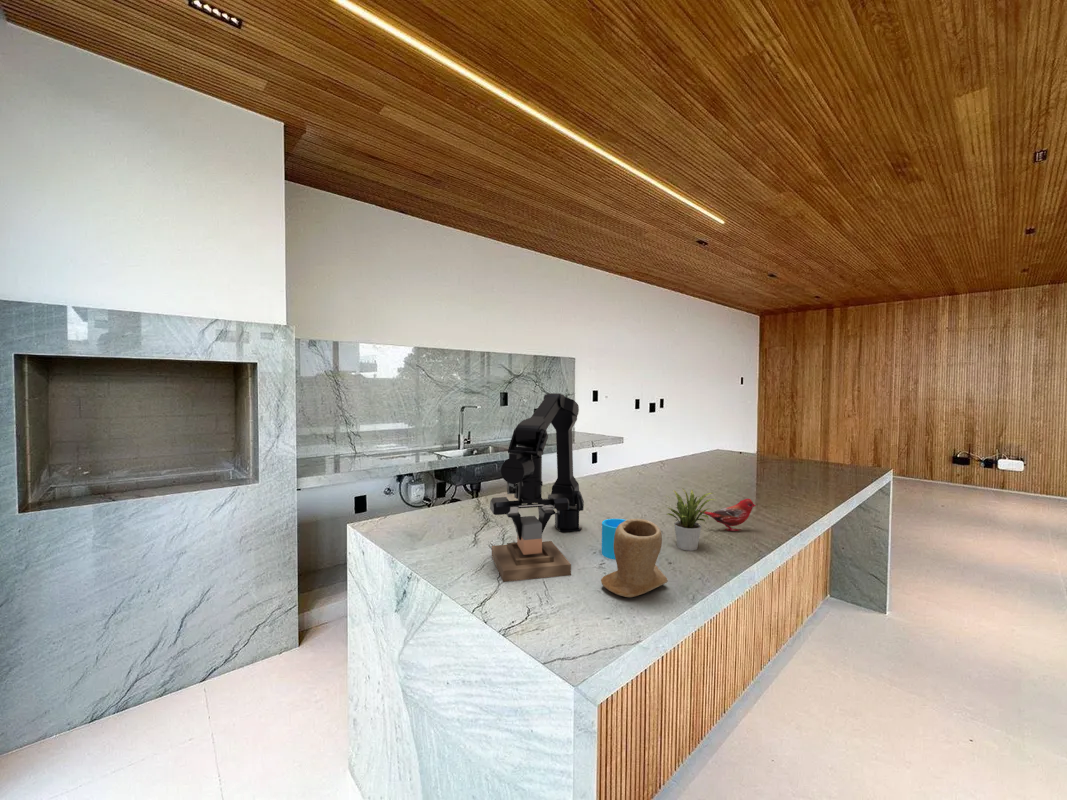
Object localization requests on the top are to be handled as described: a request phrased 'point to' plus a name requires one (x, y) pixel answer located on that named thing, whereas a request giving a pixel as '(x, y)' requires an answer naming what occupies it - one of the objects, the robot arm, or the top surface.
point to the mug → (609, 536)
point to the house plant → (688, 521)
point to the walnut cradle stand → (529, 562)
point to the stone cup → (635, 559)
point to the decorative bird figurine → (733, 514)
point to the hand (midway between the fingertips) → (529, 538)
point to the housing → (530, 535)
